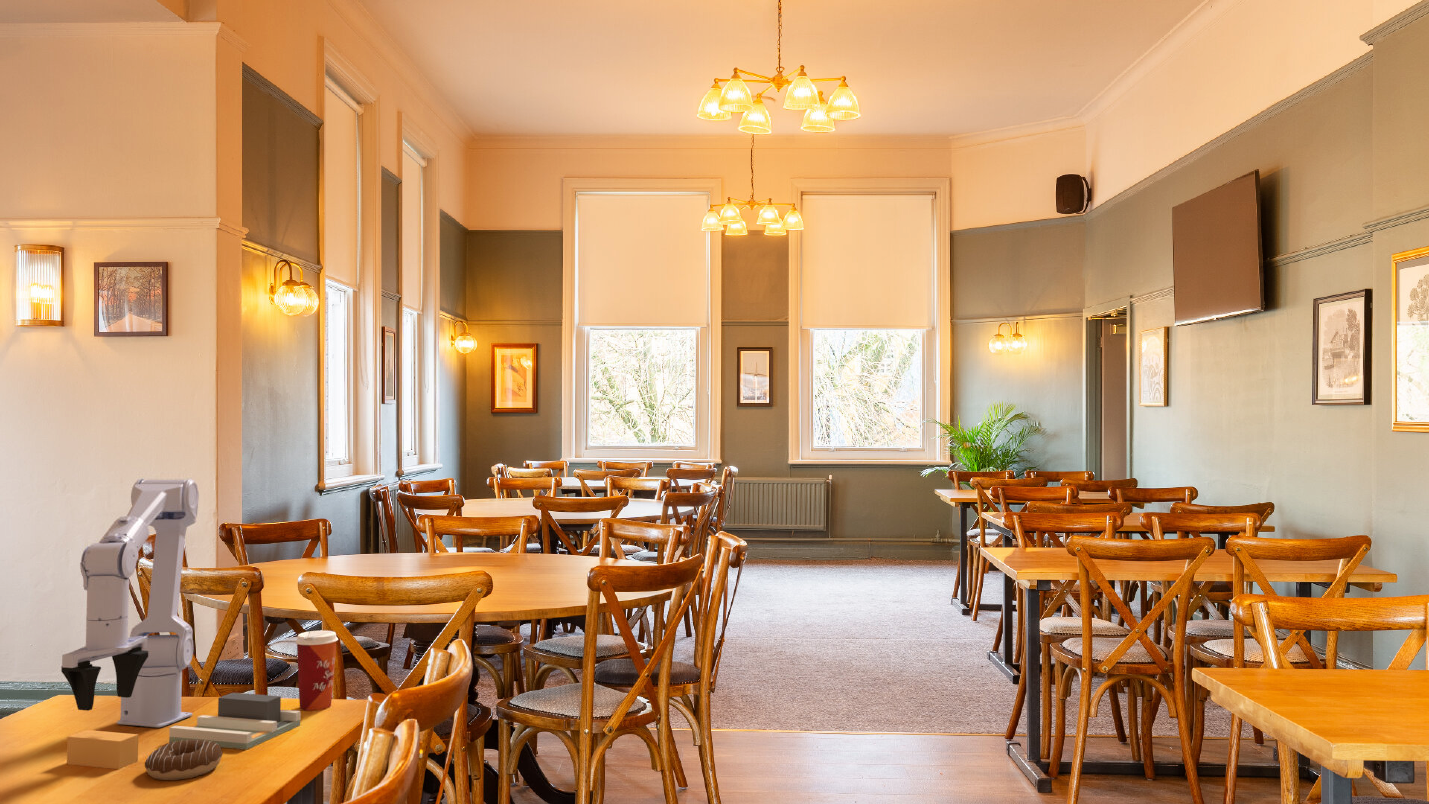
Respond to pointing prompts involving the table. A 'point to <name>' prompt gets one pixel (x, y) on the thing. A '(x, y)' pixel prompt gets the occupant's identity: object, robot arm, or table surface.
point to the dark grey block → (250, 706)
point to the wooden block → (102, 749)
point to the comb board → (235, 730)
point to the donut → (183, 759)
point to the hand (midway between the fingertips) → (105, 703)
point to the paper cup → (316, 669)
